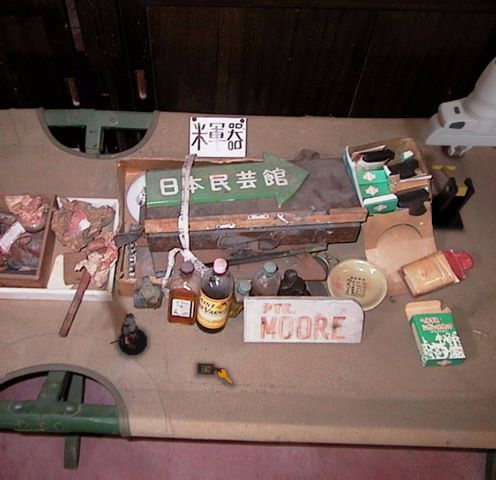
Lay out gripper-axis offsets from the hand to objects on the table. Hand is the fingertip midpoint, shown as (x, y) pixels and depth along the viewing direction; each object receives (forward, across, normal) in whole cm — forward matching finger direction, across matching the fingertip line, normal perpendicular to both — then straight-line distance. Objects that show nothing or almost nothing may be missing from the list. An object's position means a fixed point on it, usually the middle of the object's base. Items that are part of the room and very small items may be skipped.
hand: (454, 153), depth 134 cm
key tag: (+12, +60, +56) cm, 83 cm away
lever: (+5, 0, +6) cm, 7 cm away
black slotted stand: (+13, 0, +10) cm, 16 cm away
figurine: (+12, +79, +49) cm, 94 cm away
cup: (+13, -8, -12) cm, 19 cm away
